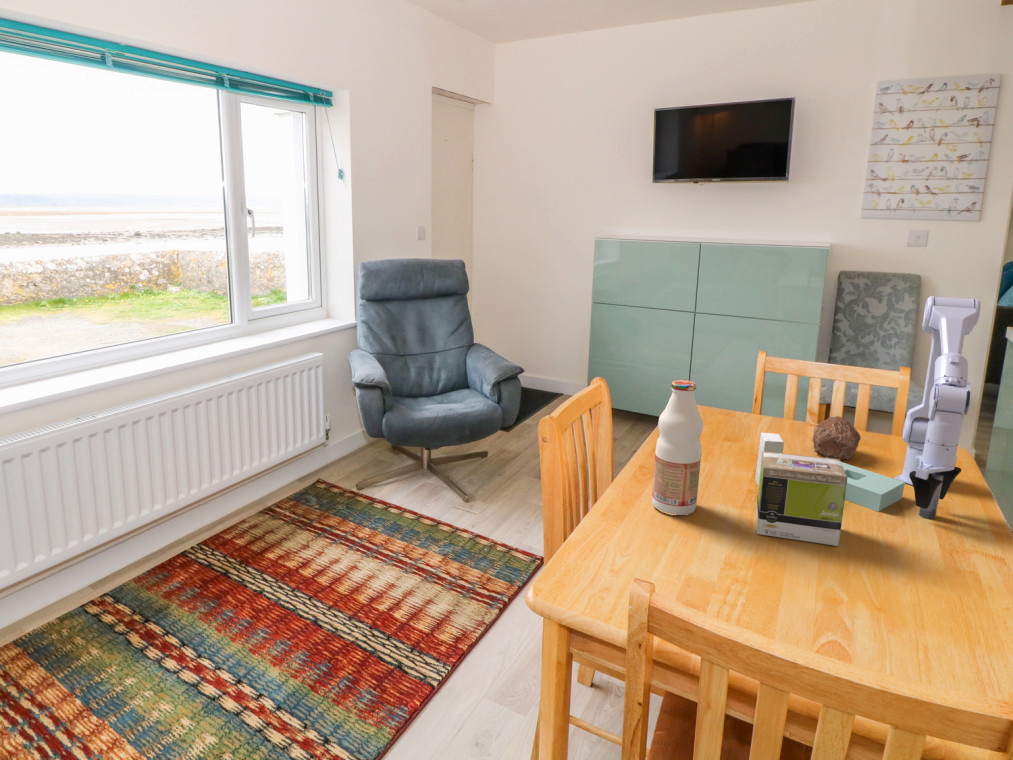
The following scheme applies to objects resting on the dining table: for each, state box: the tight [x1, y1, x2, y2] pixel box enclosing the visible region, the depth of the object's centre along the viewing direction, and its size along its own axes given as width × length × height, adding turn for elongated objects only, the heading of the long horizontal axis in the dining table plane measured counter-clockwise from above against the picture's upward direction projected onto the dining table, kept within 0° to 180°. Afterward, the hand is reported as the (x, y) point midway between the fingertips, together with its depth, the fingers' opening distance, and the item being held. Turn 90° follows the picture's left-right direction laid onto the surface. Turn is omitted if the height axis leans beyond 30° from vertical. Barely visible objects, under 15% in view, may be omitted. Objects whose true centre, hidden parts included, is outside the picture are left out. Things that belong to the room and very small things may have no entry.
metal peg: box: [918, 472, 944, 520], centre depth 138 cm, size 3×3×10 cm
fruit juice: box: [651, 379, 704, 516], centre depth 139 cm, size 9×9×28 cm
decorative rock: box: [812, 415, 862, 461], centre depth 172 cm, size 13×11×10 cm
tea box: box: [756, 451, 848, 547], centre depth 131 cm, size 15×10×15 cm
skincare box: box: [754, 432, 785, 487], centre depth 153 cm, size 6×4×12 cm
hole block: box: [841, 461, 906, 512], centre depth 151 cm, size 11×18×4 cm, turn 36°
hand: (929, 502), depth 139 cm, fingers open, 7 cm apart
